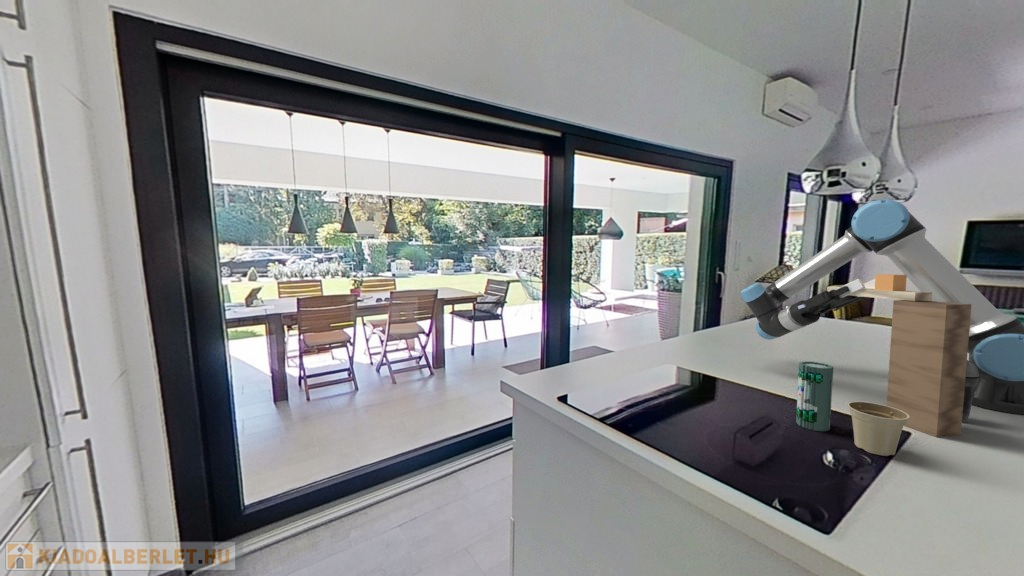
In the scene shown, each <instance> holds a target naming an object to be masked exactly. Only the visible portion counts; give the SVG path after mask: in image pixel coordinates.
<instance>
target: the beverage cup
mask: <svg viewBox="0 0 1024 576" xmlns="http://www.w3.org/2000/svg"><path fill="white" fill-rule="evenodd" d="M979 378H980V376H979V372H978V369H977V368H976V366H975V365H974V364H973V363H971V362H970V361H969V359H967V366H966V378H965V390H964V402H963V414H962V424H965V423H968V419H969V417H970V415H971V414H970V413H971V408H972V401H973V396H974V392H975V387H976V385H977V383H978V381H979Z"/></svg>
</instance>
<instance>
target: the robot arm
mask: <svg viewBox="0 0 1024 576" xmlns="http://www.w3.org/2000/svg"><path fill="white" fill-rule="evenodd" d="M850 225H851V226H850V227H849V228H847V229H846V230H845V232H844V235H843V236H841V237H840V238H838V239H837V240H836V241H834V242H832V243H831V244H829V245H828V246H826V247H825V248H824V249H821V250H820V251H819V252H817V253H816V254H815V255H813V256H811V257H809V258H808V259H807V260H805V261H804V262H803V263H801V264H799V265H798V266H796V267H795V268H794V269H792V270H791V271H789V272H787V273H786V274H785V275H783V276H781V277H780V278H779V279H777V280H776V281H774V282H772V283H771V284H769V285H767V286H766V287H764V285H763V284H762V283H760V282H756V283H753V284H751V285H749V286H747V287H745V288H744V289H742V290H741V291H740V296H741V297H742V299H743V301H744V302H745V304H746V306H748V308H749V309H750V311H751V312H752V313H753V315H754V316H755V318H756V319H757V322H756V324H755V329H756V333H757V334H758V335H759V336H760V337H761V338H763V339H764V340H768V341H769V340H775V339H777V338H781V337H783V336H786V335H788V334H790V333H792V332H794V331H799V330H800V329H803V328H805V327H806V326H809V325H811V324H814V323H816V322H818V321H819V320H820V318H821V315H823V314H826V313H828V312H830V311H832V310H833V312H834V311H839V310H840V309H842V308H844V307H847V306H850V305H851V304H855V303H856V302H858V301H861V300H864V299H865V297H861V296H850V294H852V293H854V292H857V291H859V290H861V289H863V288H874V289H875V278H873V279H872V280H871V279H870V280H869V281H866V282H864V283H863V281H862V279H861V277H859V278H857V279H854V280H852V281H850V282H848V283H846V284H844V285H840V286H841V287H839V286H838V287H839V288H837V289H836V290H831V291H829V292H828V291H827V290H824V291H822V292H820V293H818V294H816V295H813V296H812V297H810V298H808V299H803V300H800V301H797V302H795V303H793V304H792V305H790V306H789V305H787V306H785V308H783V309H781V308H780V307H779V306H781V305H782V304H783V303H784V302H787V301H788V300H789V299H791V298H792V297H794V296H796V295H797V294H799V293H800V292H802V291H804V290H805V289H807V288H809V287H810V286H812V285H813V284H815V283H816V282H818V281H819V280H821V279H824V277H826V276H828V275H829V274H831V273H832V272H834V271H836V270H838V269H839V268H840V267H842V266H844V265H845V264H847V263H849V262H851V261H852V260H853V259H855V258H856V257H858V256H860V255H861V254H863V253H871V252H874V253H875V254H876V255H878V256H885V257H887V258H889V260H891V262H892V263H893V264H894V265H895V266H896V267H897V268H898V269H899V270H900V271H901V272H902V273H903V275H907V278H908V280H909V281H910V282H911V283H912V284H913V285H914V287H916V289H918V291H921V292H932V301H938V302H950V303H962V304H972V305H971V317H970V329H969V341H968V353H967V354H968V361H970V362H971V363H973V364H974V365H975V366H976V368H977V369H978V372H979V376H980V378H979V381H978V383H977V385H976V387H975V392H974V396H973V401H972V405H973V406H975V407H980V408H983V409H987V410H993V411H998V412H1003V413H1009V414H1016V415H1024V322H1022V321H1021V320H1020V319H1019V318H1018V316H1016V315H1012V314H1006V313H1005V314H1004V313H1002V312H1001V311H1000V310H999V309H997V308H996V307H995V306H994V305H993V304H992V303H991V302H990V300H988V299H987V297H985V296H984V295H983V294H982V293H981V291H979V289H978V288H976V287H975V286H974V284H972V283H971V282H970V281H969V280H968V279H967V278H966V277H965V276H964V275H963V274H962V273H961V272H960V271H959V270H958V269H957V268H956V267H955V266H954V265H953V264H952V263H951V262H950V261H949V260H948V259H947V258H946V257H945V256H944V255H943V254H942V253H941V252H940V251H939V250H938V249H937V248H936V247H935V246H934V245H933V244H932V243H931V242H930V241H929V240H928V239H927V238H926V233H927V232H926V231H927V228H926V227H925V226H924V225H923V224H922V223H921V222H920V221H919V220H918V219H917V218H916V217H915V216H914V215H913V214H912V213H911V212H910V211H909V209H908V208H907V207H906V206H905V204H903V203H902V202H900V201H897V200H892V199H878V200H872V201H869V202H868V203H865V204H864V205H861V207H859V208H858V209H857V210H856V211H855V212H854V214H853V216H852V219H851V224H850ZM907 278H906V279H907ZM972 405H971V406H972Z"/></svg>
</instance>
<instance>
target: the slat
mask: <svg viewBox="0 0 1024 576" xmlns="http://www.w3.org/2000/svg"><path fill="white" fill-rule="evenodd" d="M841 286H842V285H840V286H827V287H826V291H828V292H829V291H831V290H836V289H837V288H839V287H841ZM850 296H861V297H864V298H876V299H885V300H887V299H888V300H908V301H932V292H921V291H920V290H906V291H886V290H875V289H874V288H863V289H861V290H859V291H857V292H854V293H852V294H850Z"/></svg>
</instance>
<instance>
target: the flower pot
mask: <svg viewBox="0 0 1024 576" xmlns="http://www.w3.org/2000/svg"><path fill="white" fill-rule="evenodd" d="M886 405H887V404H881V403H876V402H870V401H869V402H868V401H861V400H860V401H849V402H847V407H848V409H849V413H850V414H851V420H852V429H853V440H854V445H855V446H856V447H857V448H858V449H862V450H864V451H866V452H867V453H869V454H873V455H878V456H882V457H888V456H895V455H896V452H897V448H898V444H899V441H900V437H901V434H902V431H903V428H904V427H905V426H904V425H905V424H906V421H907V420H908V419H909V418H910V416H909V415H908V414H907V413H905V412H903V411H901V410H899V409H896V408H893V407H889V406H886Z"/></svg>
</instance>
